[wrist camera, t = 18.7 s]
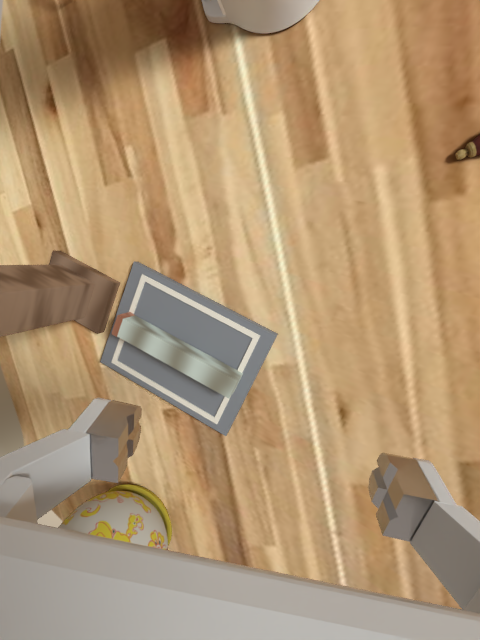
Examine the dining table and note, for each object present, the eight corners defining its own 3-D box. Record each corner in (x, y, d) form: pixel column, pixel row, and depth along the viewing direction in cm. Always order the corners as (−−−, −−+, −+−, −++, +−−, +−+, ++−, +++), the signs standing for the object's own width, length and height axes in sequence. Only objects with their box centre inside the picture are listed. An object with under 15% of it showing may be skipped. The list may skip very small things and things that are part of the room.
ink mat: (277, 333, 45) (276, 335, 44) (227, 432, 50) (225, 436, 49) (137, 261, 49) (133, 261, 48) (104, 360, 54) (99, 362, 53)
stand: (119, 282, 51) (-80, 303, 26) (103, 331, 53) (-93, 393, 28) (60, 250, 52) (-179, 242, 28) (47, 299, 55) (-183, 331, 30)
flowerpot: (202, 547, 55) (153, 659, 40) (127, 567, 61) (57, 671, 46) (153, 457, 55) (83, 534, 39) (81, 485, 61) (-5, 563, 45)
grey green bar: (123, 329, 50) (111, 333, 48) (129, 311, 50) (117, 315, 47) (234, 390, 47) (228, 399, 44) (243, 372, 46) (237, 380, 43)
